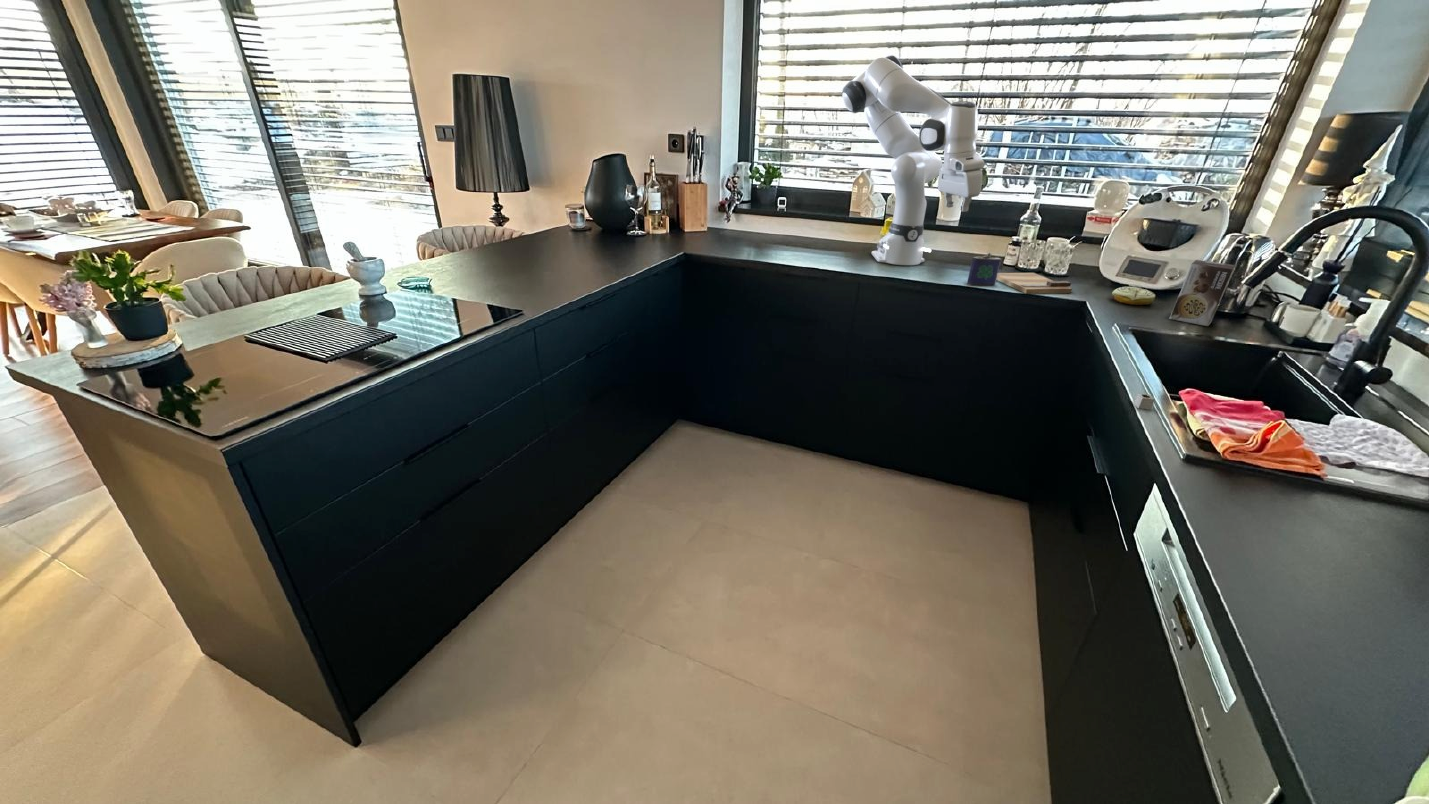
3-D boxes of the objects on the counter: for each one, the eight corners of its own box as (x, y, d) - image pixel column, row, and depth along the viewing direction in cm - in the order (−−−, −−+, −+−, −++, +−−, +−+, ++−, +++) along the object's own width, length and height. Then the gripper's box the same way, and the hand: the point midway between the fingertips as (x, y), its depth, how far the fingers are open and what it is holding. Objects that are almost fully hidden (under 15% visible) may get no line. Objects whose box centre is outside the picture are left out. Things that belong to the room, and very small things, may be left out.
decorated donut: (1102, 297, 177) (1107, 286, 175) (1128, 295, 179) (1132, 284, 178) (1133, 307, 168) (1137, 295, 166) (1159, 305, 170) (1164, 293, 169)
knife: (1020, 285, 182) (1022, 281, 182) (1065, 284, 184) (1066, 280, 184) (1025, 286, 180) (1026, 283, 180) (1070, 286, 182) (1071, 282, 182)
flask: (993, 283, 189) (1001, 252, 184) (996, 286, 186) (1004, 254, 181) (965, 283, 189) (972, 251, 184) (968, 285, 186) (976, 253, 181)
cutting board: (990, 277, 196) (991, 273, 196) (1032, 276, 198) (1033, 272, 198) (1025, 293, 179) (1026, 289, 178) (1070, 292, 181) (1072, 288, 180)
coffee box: (1211, 322, 157) (1237, 265, 150) (1208, 327, 153) (1234, 268, 146) (1172, 314, 163) (1195, 258, 155) (1168, 318, 159) (1191, 262, 151)
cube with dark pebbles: (1138, 408, 109) (1143, 396, 107) (1133, 403, 110) (1138, 392, 109) (1150, 409, 108) (1155, 398, 107) (1145, 404, 110) (1150, 393, 109)
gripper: (933, 161, 177) (931, 206, 183) (966, 165, 159) (963, 215, 165) (952, 158, 177) (950, 203, 183) (987, 161, 159) (983, 211, 165)
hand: (956, 209), depth 174 cm, fingers open, 8 cm apart
